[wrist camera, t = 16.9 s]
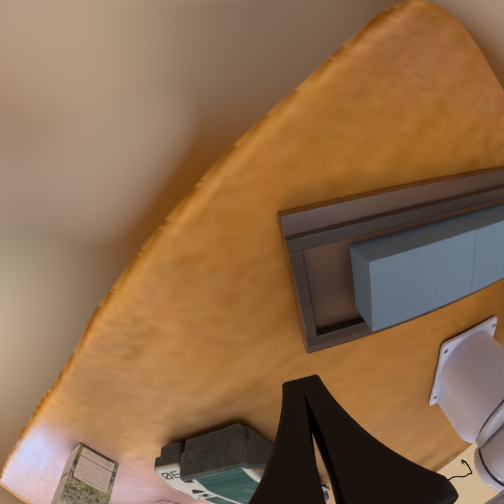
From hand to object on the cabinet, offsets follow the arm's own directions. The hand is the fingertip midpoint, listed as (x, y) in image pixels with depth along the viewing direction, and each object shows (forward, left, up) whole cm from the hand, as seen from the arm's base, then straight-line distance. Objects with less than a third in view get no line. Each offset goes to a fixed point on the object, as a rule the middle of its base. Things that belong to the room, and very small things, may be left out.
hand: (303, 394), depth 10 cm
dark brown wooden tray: (0, -12, -9) cm, 15 cm away
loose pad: (0, -9, -8) cm, 12 cm away
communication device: (-24, +6, -10) cm, 27 cm away
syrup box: (-19, +27, -10) cm, 34 cm away
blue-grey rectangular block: (0, -17, -8) cm, 19 cm away
